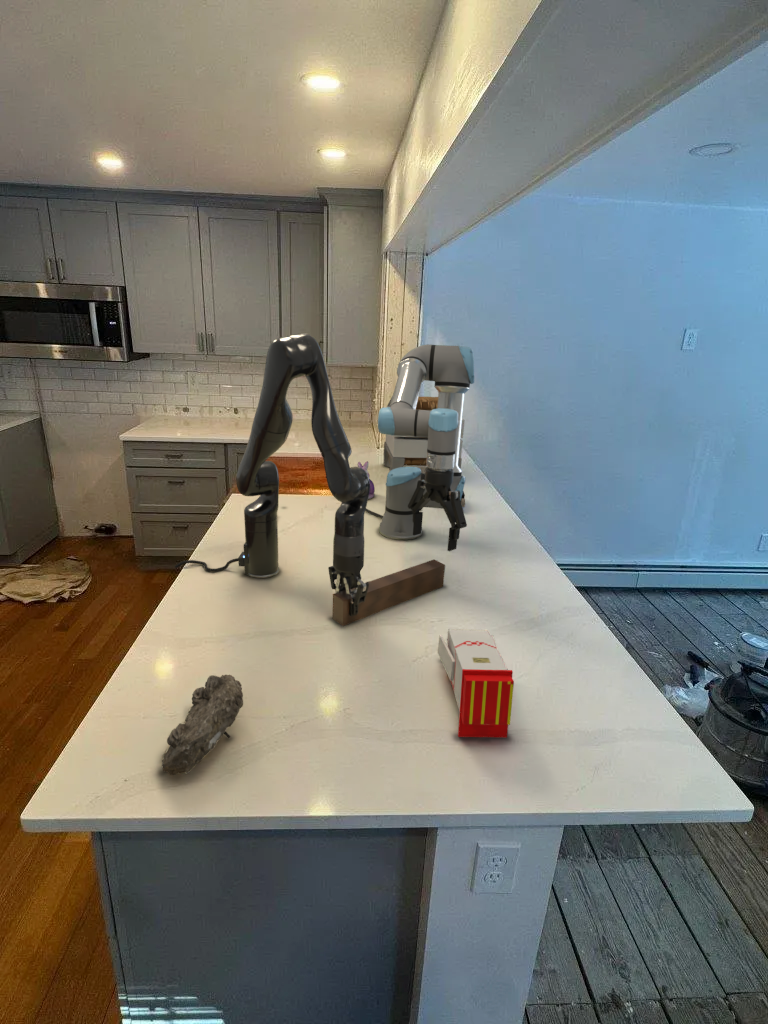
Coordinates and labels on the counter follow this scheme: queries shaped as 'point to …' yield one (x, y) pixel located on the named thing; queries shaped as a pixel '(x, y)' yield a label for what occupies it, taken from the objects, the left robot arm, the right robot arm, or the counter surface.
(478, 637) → the toy
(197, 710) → the fossil
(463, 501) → the figurine character
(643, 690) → the counter surface
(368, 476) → the figurine
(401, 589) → the plank
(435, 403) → the transformer
